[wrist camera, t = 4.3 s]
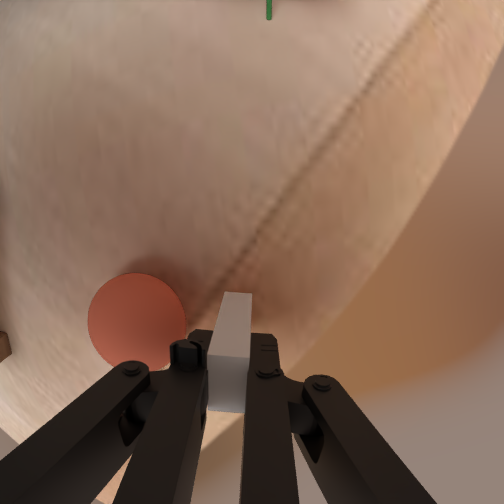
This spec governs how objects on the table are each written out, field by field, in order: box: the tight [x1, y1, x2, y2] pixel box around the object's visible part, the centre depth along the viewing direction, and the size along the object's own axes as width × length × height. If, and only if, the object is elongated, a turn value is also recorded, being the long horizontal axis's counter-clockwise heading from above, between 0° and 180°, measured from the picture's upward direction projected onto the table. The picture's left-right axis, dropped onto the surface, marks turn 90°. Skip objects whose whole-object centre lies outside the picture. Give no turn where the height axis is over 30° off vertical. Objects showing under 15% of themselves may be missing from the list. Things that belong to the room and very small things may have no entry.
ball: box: [88, 273, 186, 371], centre depth 16 cm, size 6×6×6 cm
